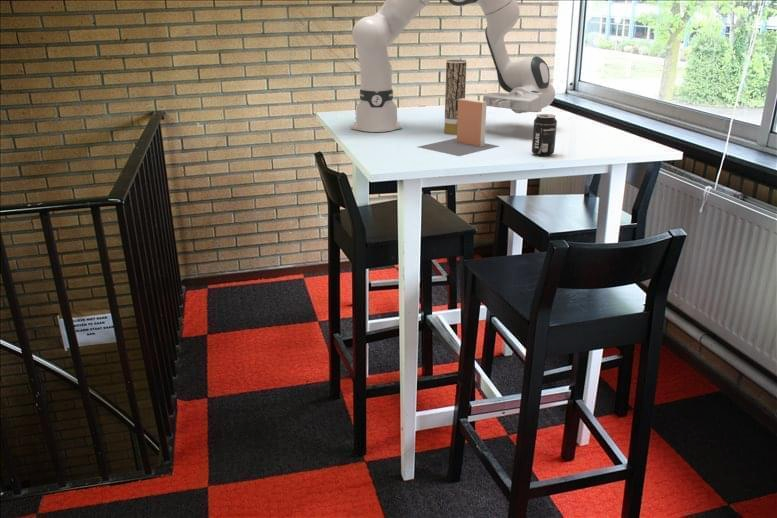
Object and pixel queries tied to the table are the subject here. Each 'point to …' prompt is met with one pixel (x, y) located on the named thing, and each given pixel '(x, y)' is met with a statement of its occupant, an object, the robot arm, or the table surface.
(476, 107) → the tile
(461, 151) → the mat
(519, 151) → the table surface
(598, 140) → the table surface
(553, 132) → the beverage can
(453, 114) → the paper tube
